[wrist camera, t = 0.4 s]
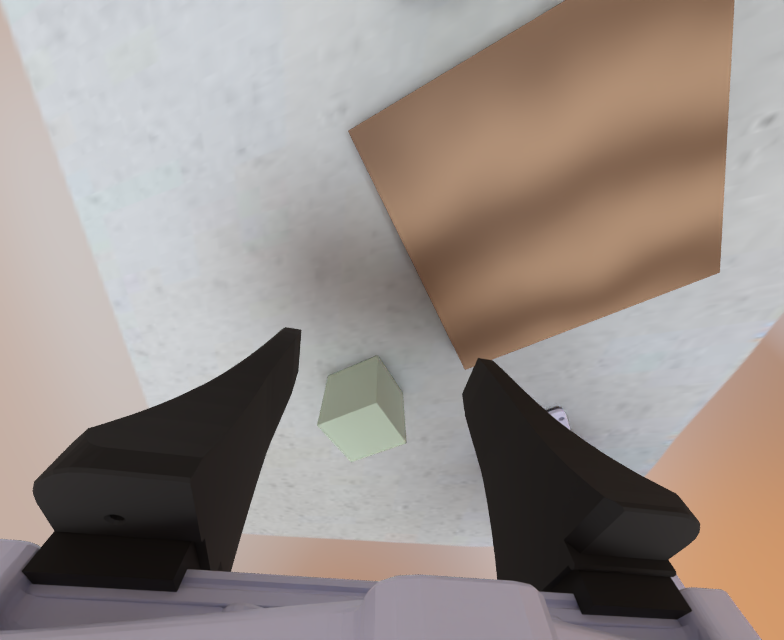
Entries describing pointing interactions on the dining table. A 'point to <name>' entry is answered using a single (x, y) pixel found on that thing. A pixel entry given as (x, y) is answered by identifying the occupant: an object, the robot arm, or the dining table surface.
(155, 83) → the dining table surface
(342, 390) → the sage block
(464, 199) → the walnut base
